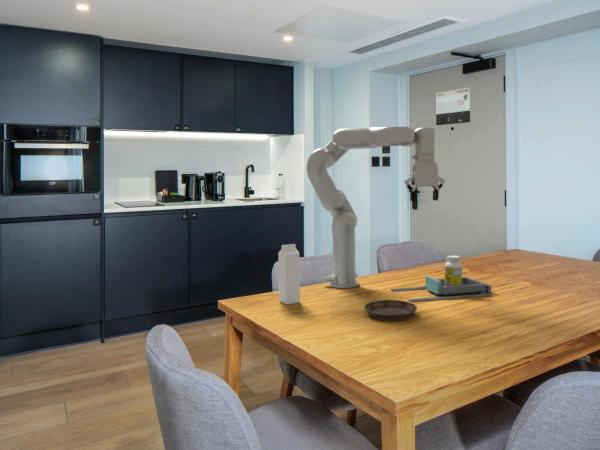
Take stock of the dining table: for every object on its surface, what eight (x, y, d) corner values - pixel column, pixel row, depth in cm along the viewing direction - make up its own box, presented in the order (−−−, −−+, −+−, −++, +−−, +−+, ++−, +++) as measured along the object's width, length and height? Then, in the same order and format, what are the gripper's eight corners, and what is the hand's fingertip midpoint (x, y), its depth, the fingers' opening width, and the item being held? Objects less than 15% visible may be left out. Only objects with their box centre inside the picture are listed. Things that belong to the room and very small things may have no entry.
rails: (409, 301, 187) (409, 294, 187) (390, 290, 205) (390, 283, 205) (495, 295, 195) (495, 287, 195) (470, 284, 212) (470, 278, 212)
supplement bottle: (441, 286, 204) (442, 255, 202) (457, 285, 205) (458, 254, 203) (448, 290, 197) (449, 258, 196) (464, 289, 198) (465, 257, 197)
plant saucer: (382, 326, 160) (382, 316, 160) (354, 312, 177) (354, 303, 176) (427, 318, 168) (427, 309, 167) (397, 305, 184) (397, 297, 183)
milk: (300, 302, 190) (299, 244, 187) (286, 304, 187) (285, 246, 184) (292, 298, 195) (292, 242, 193) (278, 301, 192) (277, 244, 190)
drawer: (439, 297, 192) (439, 282, 191) (423, 289, 206) (423, 275, 205) (485, 293, 196) (486, 279, 196) (466, 286, 210) (466, 272, 209)
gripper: (408, 158, 198) (408, 201, 199) (448, 157, 201) (448, 200, 203) (401, 159, 205) (400, 200, 207) (439, 158, 209) (439, 199, 210)
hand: (424, 200), depth 205 cm, fingers open, 9 cm apart
